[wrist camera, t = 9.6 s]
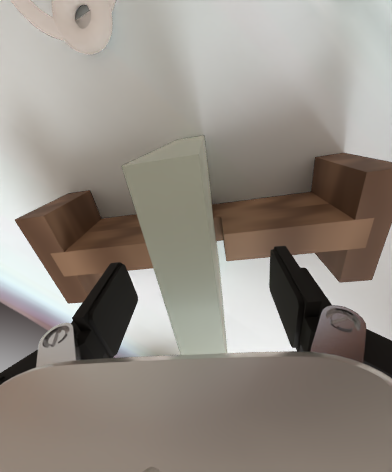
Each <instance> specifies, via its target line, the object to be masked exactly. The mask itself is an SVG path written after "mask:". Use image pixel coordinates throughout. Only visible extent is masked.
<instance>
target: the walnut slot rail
mask: <svg viewBox="0 0 392 472" xmlns="http://www.w3.org/2000/svg"><path fill="white" fill-rule="evenodd" d="M212 212H213V220H214V229H215V237H216V241H221V240H224V247H225V254H226V261H234V260H244V259H255V258H265V257H270V251H271V249H274V247H275V246H286V247H287V249H288V250H289V252H290V253H291V255H297V254H307V253H315V254H316V255H317V256H318V257H319V259H320V260H321V261H322V262H323V263H324V265H325V266H326V267H327V268H328V269H329V270H330V272H331V273H332V274H333V275H334V276H335V278H336V279H337V280H338V281H339V282H352V281H365V280H372V278H373V276H374V273H375V270H376V267H377V264H378V261H379V258H380V255H381V252H382V250H383V247H384V244H385V241H386V238H387V235H388V232H389V229H390V226H391V224H392V162H388V161H383V160H377V159H372V158H367V157H362V156H357V155H352V154H347V153H340V154H333V155H327V156H320V157H315V163H314V172H313V180H312V188H311V192H306V193H298V194H290V195H283V196H275V197H267V198H259V199H251V200H244V201H236V202H228V203H220V204H213V205H212ZM15 222H16V223H17V225H18V226H19V228H20V229H21V231H22V232H23V234H24V236H25V237H26V239H27V240H28V242H29V243H30V245H31V246H32V248H33V250H34V251H35V253H36V254H37V256H38V257H39V259H40V261H41V262H42V264H43V265H44V267H45V268H46V270H47V271H48V273H49V275H50V276H51V278H52V279H53V281H54V282H55V284H56V285H57V287H58V289H59V290H60V292H61V293H62V295H63V296H64V298H65V299H66V301H67V303H81V302H84V300H85V299H86V297H87V296H88V295H89V293H90V292H91V290H92V289H93V287H94V286H95V285H96V283H97V282H98V280H99V279H100V277H101V276H102V275H103V273H104V272H105V270H106V269H107V268H108V266H109V265H110V264H111V263H116V262H121V263H122V264H124V265H125V266H126V268H127V271H128V270H139V269H149V268H153V265H152V262H151V258H150V255H149V252H148V249H147V246H146V243H145V239H144V236H143V233H142V230H141V227H140V223H139V220H138V217H137V214H135V215H127V216H119V217H111V218H104V219H102V218H101V216H100V214H99V211H98V209H97V206H96V204H95V202H94V199H93V197H92V194H91V192H90V190H89V191H82V192H75V193H68V194H66V195H64V196H62V197H60V198H58V199H56V200H54V201H52V202H50V203H48V204H46V205H44V206H42V207H40V208H38V209H36V210H34V211H32V212H30V213H27V214H25V215H23V216H21V217H19V218H17V219H15Z"/></svg>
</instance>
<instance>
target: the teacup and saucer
mask: <svg viewBox="0 0 392 472" xmlns="http://www.w3.org/2000/svg"><path fill="white" fill-rule="evenodd" d="M11 2H12V3H13V4H14V6H15V7H16V8H17V9H18V10H19V12H20V13H21V14H22V15H23V16H24V17H25V18H26V19H27V20H28V21H29V22H30V23H31V24H33V25H34V26H35V27H36V28H38V29H39V30H40V31H42V32H44V33H45V34H47V35H49V36H51V37H54V38H56V39H59V40H64V41H65V42H66V43H67V44H68V45H69V46H70V47H71V48H72V49H74V50H75V51H77V52H79V53H83V54H87V55H92V54H97V53H99V52H100V51H102V50H103V49H104V48H105V47H106V46H107V44H108V42H109V40H110V38H111V34H112V27H113V20H112V11H113V8H114V6H115V3H116V0H53V1H52V12H53V17H52V16H50V15H48V14H46V13H45V12H43V11H42V10H40V9H39V8H38V7H37V6H36V5H35V4H34V3H33V2H32V1H31V0H11ZM85 4H86V5H87V6H88V7H89V8H90V10H89V11H88V12H87V13H86V14H84V15H83V16H81V17H79V18H77V19H75V14H76V11H77V9H78V8H79V6H81V5H85Z"/></svg>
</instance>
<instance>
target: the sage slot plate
mask: <svg viewBox="0 0 392 472" xmlns="http://www.w3.org/2000/svg"><path fill="white" fill-rule="evenodd" d="M122 169H123V172H124V176H125V179H126V182H127V185H128V188H129V191H130V195H131V198H132V201H133V204H134V207H135V211H136V214H137V217H138V220H139V223H140V227H141V230H142V233H143V236H144V239H145V243H146V246H147V249H148V252H149V255H150V258H151V262H152V265H153V268H154V271H155V274H156V278H157V281H158V284H159V287H160V290H161V294H162V297H163V300H164V303H165V306H166V310H167V313H168V316H169V319H170V322H171V326H172V329H173V332H174V335H175V338H176V341H177V345H178V348H179V351H180V354H181V355H193V354H219V353H227V343H226V332H225V321H224V310H223V298H222V287H221V276H220V267H219V258H218V249H217V241H216V237H215V229H214V220H213V212H212V198H211V189H210V180H209V172H208V163H207V154H206V146H205V137H204V135H202V136H196V137H190V138H184V139H178V140H175V141H173V142H171V143H169V144H167V145H165V146H163V147H161V148H159V149H156V150H154V151H152V152H150V153H148V154H146V155H144V156H142V157H140V158H137V159H135V160H133V161H131V162H129V163H127V164H125V165H123V166H122Z"/></svg>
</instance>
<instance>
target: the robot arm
mask: <svg viewBox="0 0 392 472" xmlns="http://www.w3.org/2000/svg"><path fill="white" fill-rule="evenodd" d="M269 287H270V292H271V295H272V297H273V300H274V302H275V305H276V308H277V310H278V313H279V315H280V318H281V321H282V323H283V326H284V329H285V331H286V334H287V336H288V339H289V342H290V344H291V346H292V348H296V350H297V352H294V351H289V352H246V353H219V354H193V355H169V356H146V357H125V358H113V357H114V355H116V354H117V352H118V350H119V348H120V345H121V342H122V340H123V337H124V335H125V332H126V330H127V327H128V325H129V322H130V320H131V317H132V315H133V312H134V309H135V307H136V304H137V302H138V296H137V294H136V291H135V288H134V286H133V283H132V281H131V278H130V276H129V273H128V271H127V268H126V266H125V265H124V264H122V263H121V262H116V263H111V264H110V265H109V266H108V268H107V269H106V270H105V272H104V273H103V275H102V276H101V277H100V279H99V280H98V282H97V283H96V285H95V286H94V287H93V289H92V290H91V292H90V293H89V295H88V296H87V297H86V299H85V300H84V302H83V303H82V305H81V306H80V307H79V309H78V310H77V312H76V313H75V315H74V316H73V317H72V319H73V321H72V323H71V324H70V323H62V324H59V325H57V326H55V327H53V328H52V329H50V330H49V331H48V332H47V333H46V334H45V335H44V336H43V337H42V339H41V340H40V342H39V345H38V350H36V351H35V352H33V353H32V354H30V355H28V356H27V357H25V358H24V359H22V360H20V361H19V362H17V363H16V364H14V365H12V366H11V367H9V368H8V369H6V370H4V371H3V372H2V373H0V472H392V341H391V340H389V339H387V338H385V337H382V336H380V335H378V334H376V333H374V332H372V331H370V330H368V329H366V323H365V322H364V320H363V318H362V317H360V316H359V315H358V314H357V313H356V312H354V311H353V310H351V309H348V308H346V307H343V306H337V305H331V303H330V302H329V300H328V299H327V297H326V296H325V295H324V293H323V292H322V290H321V289H320V287H319V286H318V285H317V283H316V282H315V280H314V279H313V277H312V276H311V274H310V273H309V272H308V270H307V269H306V268H300V267H299V265H298V264H297V262H296V261H295V259H294V258H293V256H292V255H291V253H290V252H289V250H288V249H287V247H286V246H275V247H274V249H271V251H270V283H269Z"/></svg>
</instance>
